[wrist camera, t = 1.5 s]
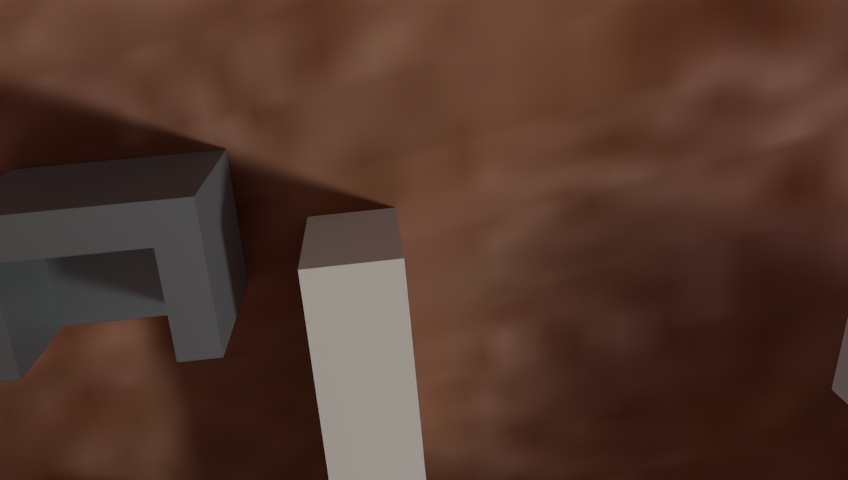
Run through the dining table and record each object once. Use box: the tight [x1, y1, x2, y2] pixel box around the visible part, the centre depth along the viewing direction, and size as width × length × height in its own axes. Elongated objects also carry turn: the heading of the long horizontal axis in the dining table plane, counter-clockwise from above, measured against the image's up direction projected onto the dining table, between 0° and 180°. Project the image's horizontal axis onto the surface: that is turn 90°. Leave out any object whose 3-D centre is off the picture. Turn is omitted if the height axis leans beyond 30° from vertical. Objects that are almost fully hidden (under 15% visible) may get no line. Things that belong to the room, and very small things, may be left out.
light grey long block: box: [298, 208, 426, 480], centre depth 32 cm, size 16×4×6 cm, turn 5°
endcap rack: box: [0, 149, 248, 381], centre depth 31 cm, size 22×8×6 cm, turn 5°
